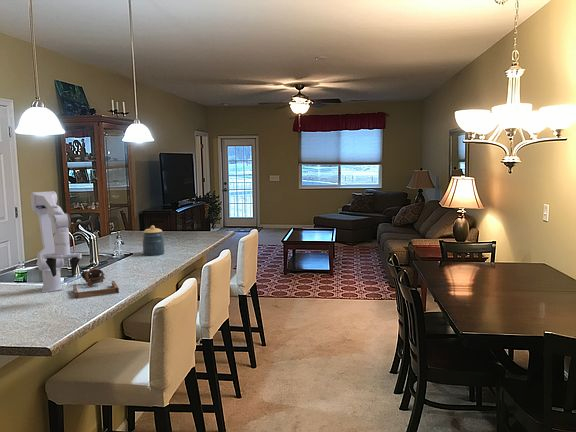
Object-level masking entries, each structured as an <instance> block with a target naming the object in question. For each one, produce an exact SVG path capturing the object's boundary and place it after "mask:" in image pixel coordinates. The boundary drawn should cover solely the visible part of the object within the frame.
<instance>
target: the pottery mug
mask: <svg viewBox="0 0 576 432" xmlns="http://www.w3.org/2000/svg"><path fill="white" fill-rule="evenodd" d="M105 275H106V274H105V273H104V271H103V270H101V269H99V268H91V269H89V270H87V271H86V270H84V271H82V272H81V274H80V276H81V277H82V279H83V280H84V281H85V283H86V285H87V286H86V287H92V285H96V284H99V283H100V282H101V283H103V282H104V280H106V277H105Z"/></svg>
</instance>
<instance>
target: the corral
mask: <svg viewBox="0 0 576 432" xmlns="http://www.w3.org/2000/svg"><path fill="white" fill-rule="evenodd" d="M111 286H112V288H111V287H109V288H101V289H94V290H86V291H78V287H77V285H76V284H75V285H72V287H73V291H72V292H73V295H74V298H75V299H81V298H91V297H97V296H107V295H111V294H112V295H114V294H119V293H120V288H119V286H118V284H117V283H116V281H115V280H111Z"/></svg>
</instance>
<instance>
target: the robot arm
mask: <svg viewBox="0 0 576 432" xmlns="http://www.w3.org/2000/svg"><path fill="white" fill-rule="evenodd" d="M57 203H58V195H57V192H55V190H52V191H36V192H35V191H32V192H31V193H30V205H31V210H32V212H33V213H36V214H37V218H38V224H39V231H40V236H41V238H40V239H41V244H42V249H41V250H40V251H39V252H38V253H37V256H36V258H37V260H36V263H37V268H38V270H39V271H40V272H41V273H42V274H41V275H42V288H41V289H42V293H49V292H55V291H58V292H59V291H62V290H63V285H62V280H61V270H62V268H63V267H64V263H65V262H64V261H65V260H64V259H66V260H67V259H69V264H70V268H71V272H70V273H71V277H75V276H76V271H77V267H78V264H79V262H80V260H81V259H82V257H83V256H82V255H83V254H82V252H71V244H70V242H71V241H70V230H69V229H70V227H71V218H70V217H71V216H70V215H69V213H65V212H64V210H63V209H62V207H61V206H59V205H58V204H57Z"/></svg>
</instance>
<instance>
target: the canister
mask: <svg viewBox="0 0 576 432" xmlns="http://www.w3.org/2000/svg"><path fill="white" fill-rule="evenodd" d="M164 235H165V234H164V233H163V230H162V229H160V228H157V227H155V225H151V226H150V227H149V228H146V229H144V230H143V234H142V235H141V237H142V254H143V256H147V257H148V256H149V257H151V256H153V257H155V256H162V255H164V254H165V250H166V249H165V239H164Z"/></svg>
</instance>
